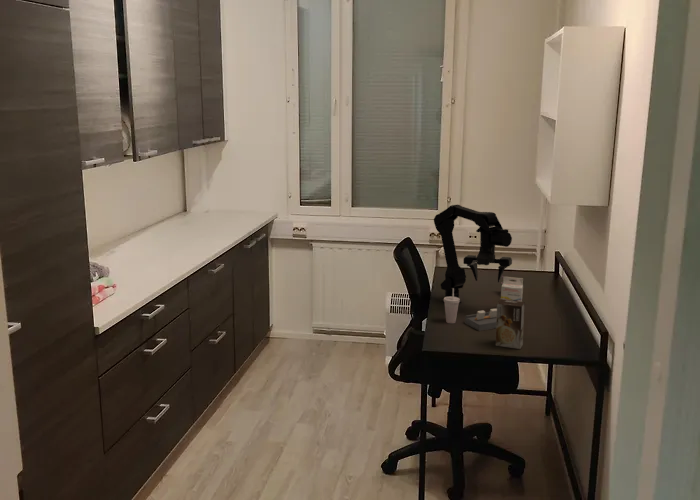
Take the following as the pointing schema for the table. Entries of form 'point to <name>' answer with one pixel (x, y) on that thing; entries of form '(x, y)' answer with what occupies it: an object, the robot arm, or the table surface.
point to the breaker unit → (481, 322)
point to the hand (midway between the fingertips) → (487, 281)
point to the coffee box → (510, 323)
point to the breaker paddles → (481, 314)
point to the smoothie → (451, 308)
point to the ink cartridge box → (512, 289)
